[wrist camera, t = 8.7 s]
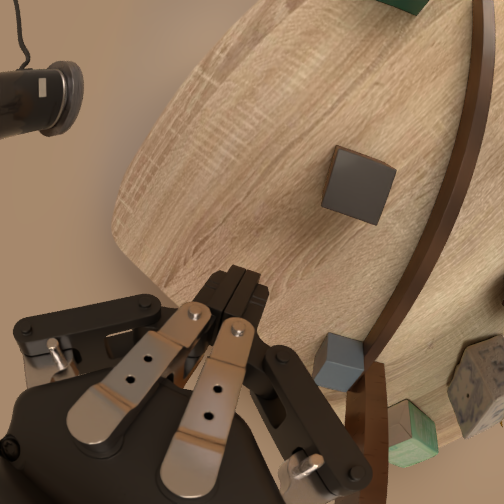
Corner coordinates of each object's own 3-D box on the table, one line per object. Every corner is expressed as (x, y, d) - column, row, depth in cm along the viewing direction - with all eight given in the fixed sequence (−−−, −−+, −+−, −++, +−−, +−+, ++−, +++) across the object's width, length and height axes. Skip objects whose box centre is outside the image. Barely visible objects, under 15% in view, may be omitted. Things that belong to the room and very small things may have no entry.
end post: (365, 385, 32) (346, 566, 9) (347, 381, 32) (318, 567, 10) (384, 363, 29) (375, 566, 7) (364, 358, 30) (345, 569, 7)
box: (402, 437, 36) (403, 470, 30) (368, 415, 35) (367, 454, 28) (435, 422, 33) (439, 456, 26) (408, 397, 31) (412, 437, 25)
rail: (350, 377, 32) (349, 391, 30) (340, 374, 32) (339, 389, 30) (483, 7, 9) (493, 0, 7) (472, -1, 9) (481, -8, 7)
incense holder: (486, 376, 26) (501, 428, 17) (444, 386, 29) (455, 443, 20) (508, 329, 22) (535, 384, 13) (463, 339, 25) (486, 402, 16)
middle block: (321, 192, 23) (320, 206, 19) (336, 144, 21) (338, 148, 17) (368, 209, 23) (376, 226, 19) (384, 162, 20) (397, 170, 17)
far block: (314, 356, 32) (310, 384, 28) (328, 332, 29) (326, 360, 25) (346, 365, 31) (346, 392, 27) (363, 341, 29) (364, 370, 25)
